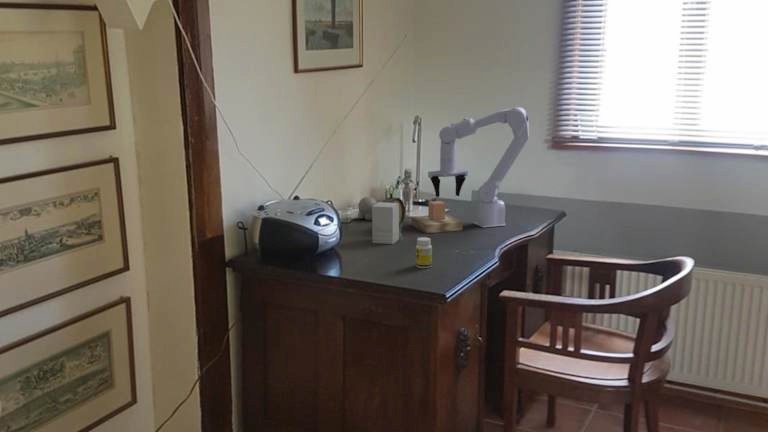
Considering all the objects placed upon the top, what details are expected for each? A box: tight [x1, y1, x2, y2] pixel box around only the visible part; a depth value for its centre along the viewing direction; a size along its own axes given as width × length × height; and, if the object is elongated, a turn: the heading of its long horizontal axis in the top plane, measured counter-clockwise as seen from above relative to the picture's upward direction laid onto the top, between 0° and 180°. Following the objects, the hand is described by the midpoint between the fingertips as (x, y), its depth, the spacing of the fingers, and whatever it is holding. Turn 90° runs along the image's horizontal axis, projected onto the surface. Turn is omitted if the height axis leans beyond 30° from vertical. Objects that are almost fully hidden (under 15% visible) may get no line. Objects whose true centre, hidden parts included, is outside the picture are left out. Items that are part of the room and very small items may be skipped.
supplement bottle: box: [415, 236, 433, 269], centre depth 226 cm, size 5×5×8 cm
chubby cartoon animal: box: [357, 196, 384, 221], centre depth 286 cm, size 7×12×8 cm, turn 60°
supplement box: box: [371, 201, 400, 245], centre depth 254 cm, size 7×7×13 cm
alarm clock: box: [382, 185, 406, 229], centre depth 268 cm, size 11×5×16 cm, turn 148°
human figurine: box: [394, 168, 423, 217], centre depth 293 cm, size 12×4×18 cm, turn 68°
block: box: [427, 200, 446, 221], centre depth 273 cm, size 4×4×6 cm
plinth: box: [410, 213, 464, 234], centre depth 274 cm, size 14×14×3 cm
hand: (447, 196), depth 281 cm, fingers open, 7 cm apart
